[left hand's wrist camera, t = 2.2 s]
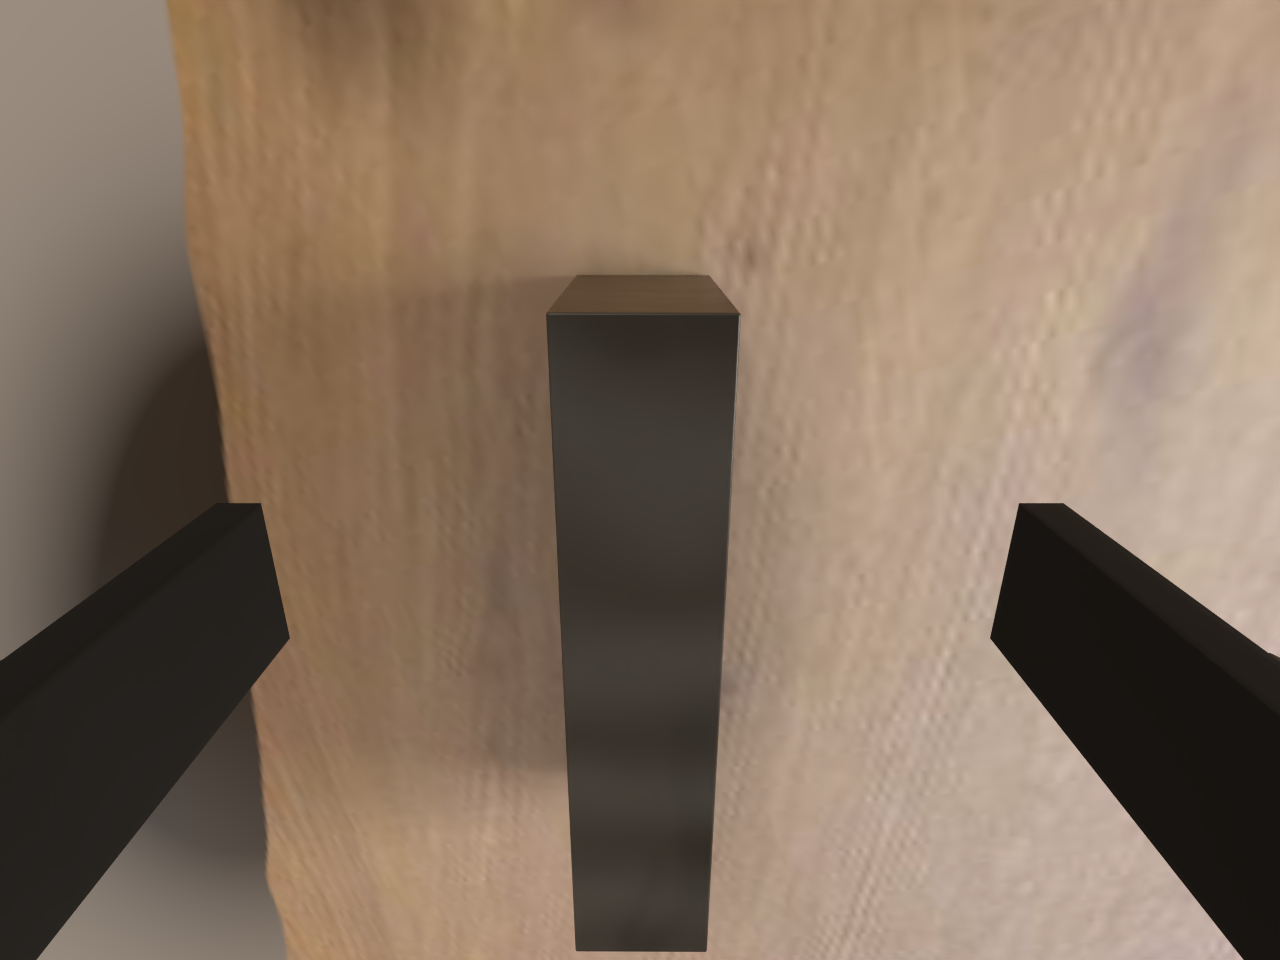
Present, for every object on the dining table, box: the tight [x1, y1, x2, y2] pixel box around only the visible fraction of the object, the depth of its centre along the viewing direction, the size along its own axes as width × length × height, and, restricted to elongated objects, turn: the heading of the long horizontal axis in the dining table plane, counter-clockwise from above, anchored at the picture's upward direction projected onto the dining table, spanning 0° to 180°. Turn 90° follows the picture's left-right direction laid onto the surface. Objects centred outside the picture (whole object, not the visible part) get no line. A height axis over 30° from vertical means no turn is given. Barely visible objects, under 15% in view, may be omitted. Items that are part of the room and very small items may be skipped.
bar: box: [546, 275, 741, 952], centre depth 27 cm, size 24×5×9 cm, turn 0°
